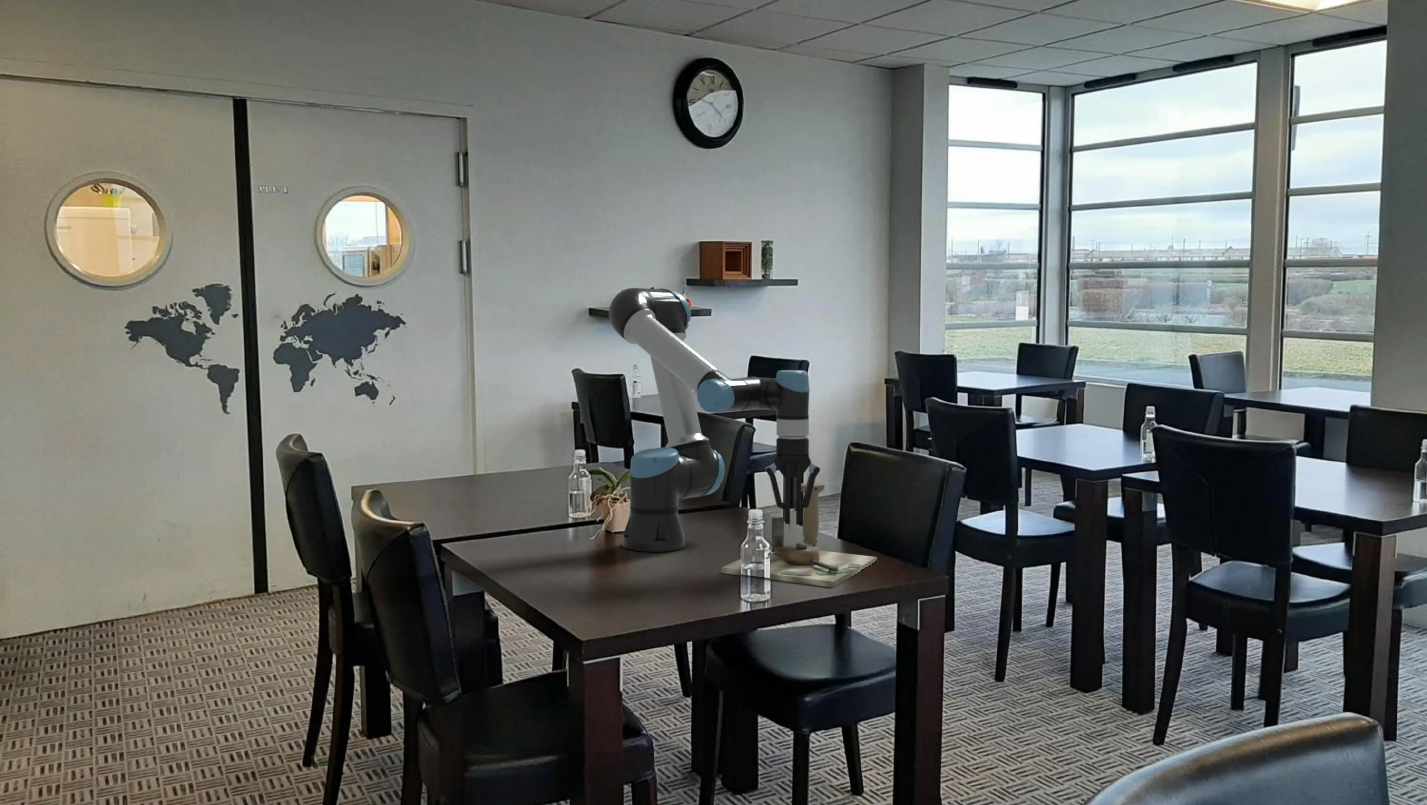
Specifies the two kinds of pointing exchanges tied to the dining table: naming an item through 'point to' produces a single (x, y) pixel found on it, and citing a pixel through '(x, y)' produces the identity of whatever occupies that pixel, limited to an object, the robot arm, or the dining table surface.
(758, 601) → the dining table surface
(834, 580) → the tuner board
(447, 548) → the dining table surface
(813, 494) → the handle
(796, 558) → the brown handled round piece
